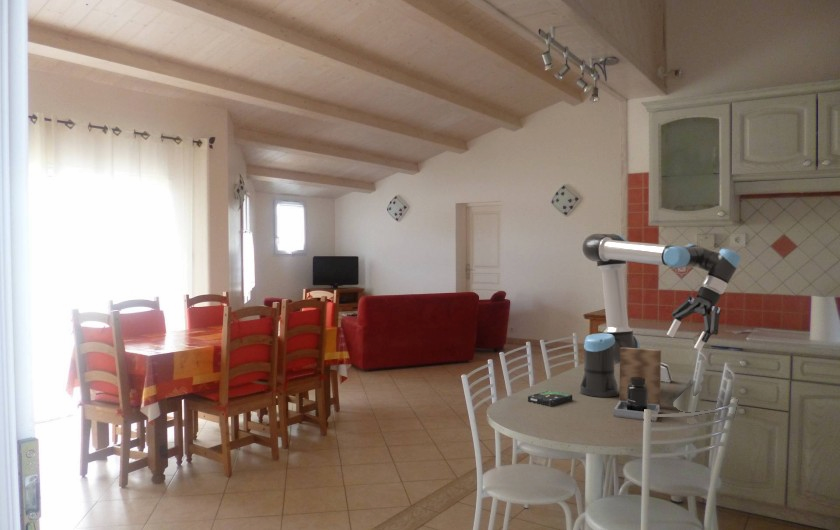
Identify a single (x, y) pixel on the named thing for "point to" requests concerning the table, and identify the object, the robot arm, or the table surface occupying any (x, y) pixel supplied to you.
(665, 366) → the white black curved block
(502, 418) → the table surface
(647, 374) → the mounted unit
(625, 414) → the tray
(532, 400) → the disk drive
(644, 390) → the supplement bottle
